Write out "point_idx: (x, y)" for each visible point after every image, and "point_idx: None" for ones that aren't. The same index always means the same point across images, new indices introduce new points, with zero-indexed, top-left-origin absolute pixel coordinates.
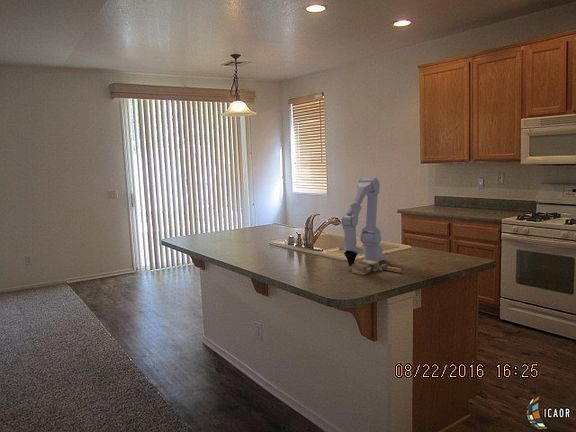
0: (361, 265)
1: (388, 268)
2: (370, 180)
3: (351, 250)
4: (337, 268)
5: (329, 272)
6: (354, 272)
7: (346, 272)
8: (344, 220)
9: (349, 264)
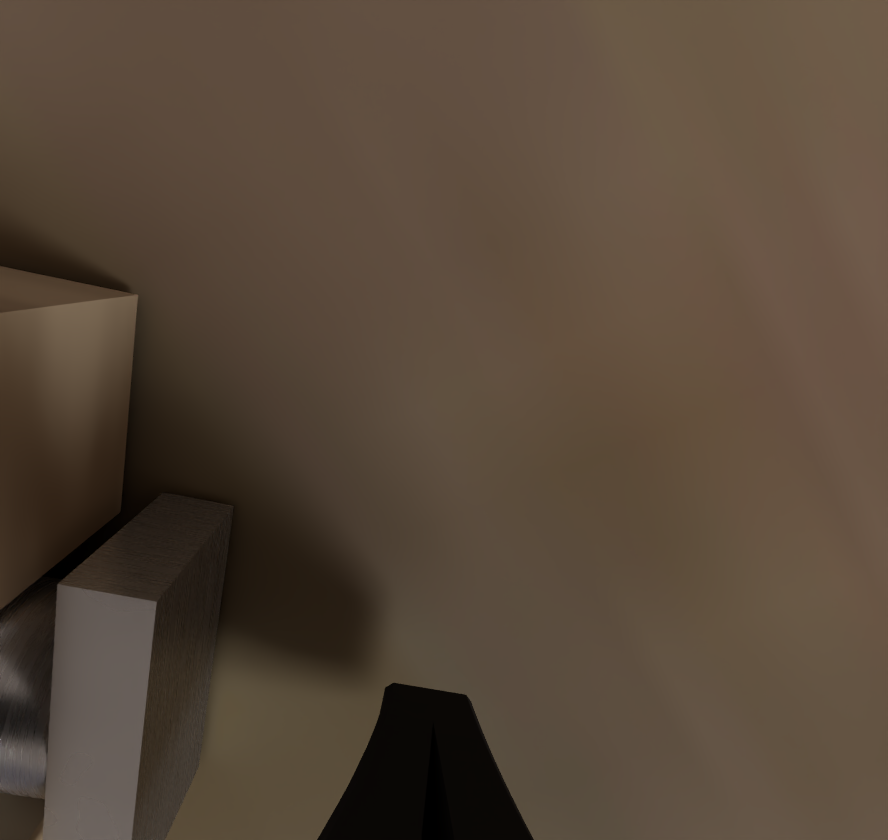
0: None
1: None
2: None
3: None
4: (806, 582)
5: (853, 54)
6: (22, 275)
7: (342, 294)
8: None
9: (441, 717)
